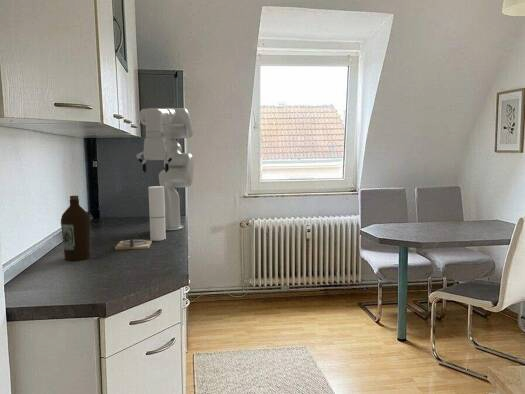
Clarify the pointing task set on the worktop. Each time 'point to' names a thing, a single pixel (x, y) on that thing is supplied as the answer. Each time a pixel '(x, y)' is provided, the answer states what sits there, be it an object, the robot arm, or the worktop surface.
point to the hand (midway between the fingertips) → (156, 172)
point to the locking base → (134, 244)
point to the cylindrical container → (157, 213)
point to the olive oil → (76, 231)
